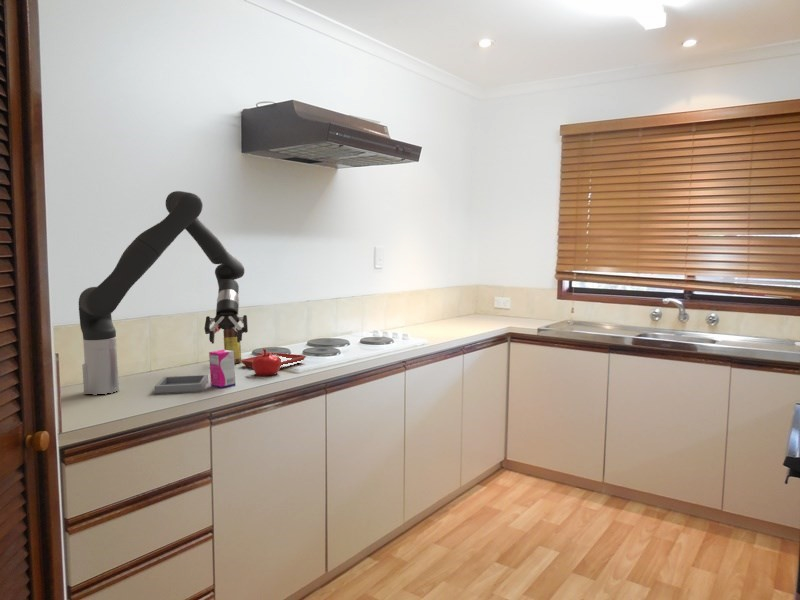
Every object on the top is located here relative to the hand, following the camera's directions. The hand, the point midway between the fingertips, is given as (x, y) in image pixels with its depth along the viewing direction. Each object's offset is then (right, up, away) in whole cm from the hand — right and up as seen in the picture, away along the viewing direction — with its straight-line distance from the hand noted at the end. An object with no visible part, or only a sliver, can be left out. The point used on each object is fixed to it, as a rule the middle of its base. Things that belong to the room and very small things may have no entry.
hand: (225, 341), depth 202 cm
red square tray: (+11, -11, +26) cm, 31 cm away
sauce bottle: (-6, -11, +31) cm, 34 cm away
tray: (-11, -14, -10) cm, 21 cm away
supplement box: (+1, -14, -8) cm, 16 cm away
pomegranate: (+12, -13, +9) cm, 20 cm away
